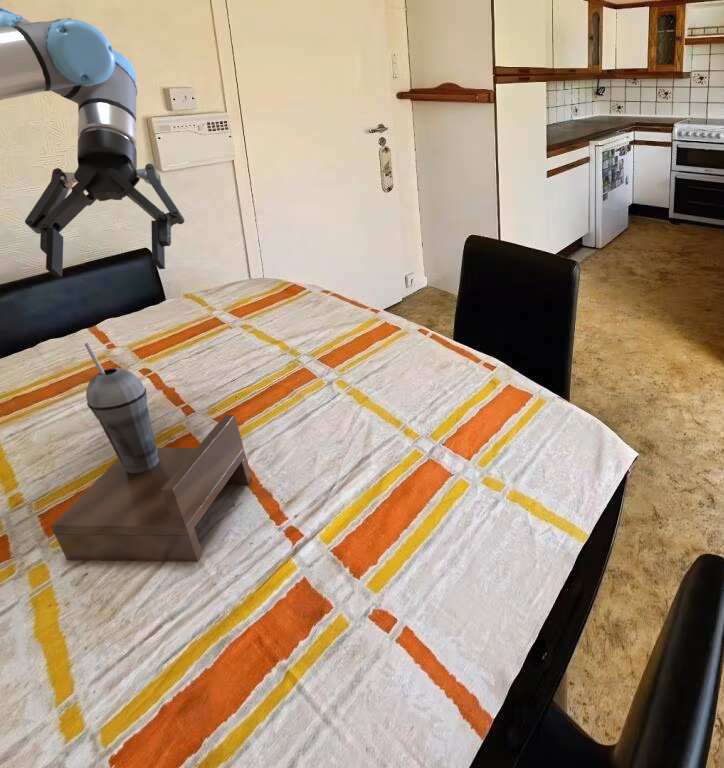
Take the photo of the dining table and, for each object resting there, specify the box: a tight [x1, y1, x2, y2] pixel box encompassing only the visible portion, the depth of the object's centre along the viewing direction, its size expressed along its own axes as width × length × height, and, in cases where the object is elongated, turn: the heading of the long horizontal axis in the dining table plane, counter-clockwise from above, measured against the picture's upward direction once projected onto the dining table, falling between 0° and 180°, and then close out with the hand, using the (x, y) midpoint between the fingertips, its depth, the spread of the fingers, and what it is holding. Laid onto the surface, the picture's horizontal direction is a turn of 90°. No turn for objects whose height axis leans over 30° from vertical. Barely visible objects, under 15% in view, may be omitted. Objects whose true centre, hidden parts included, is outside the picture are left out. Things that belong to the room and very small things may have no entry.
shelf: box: [50, 414, 253, 562], centre depth 88 cm, size 18×18×12 cm
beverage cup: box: [84, 342, 159, 473], centre depth 88 cm, size 7×7×20 cm
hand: (107, 269), depth 89 cm, fingers open, 13 cm apart
